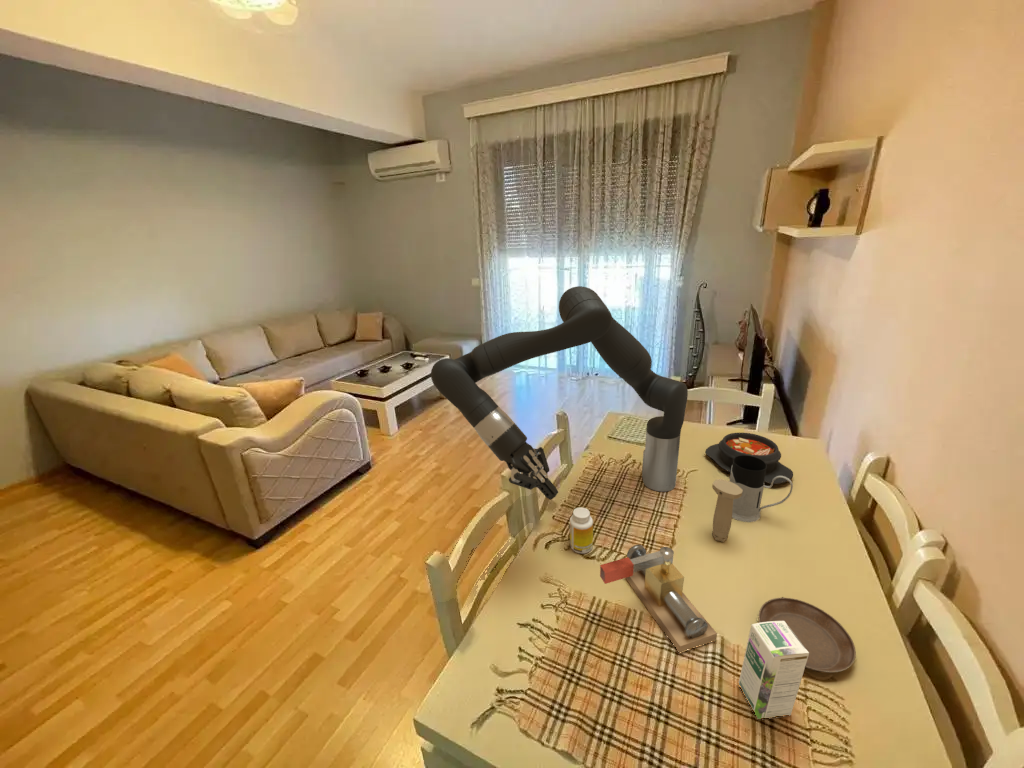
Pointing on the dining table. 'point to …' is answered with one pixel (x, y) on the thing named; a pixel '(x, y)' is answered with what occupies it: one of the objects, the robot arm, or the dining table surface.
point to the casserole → (750, 454)
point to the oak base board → (670, 616)
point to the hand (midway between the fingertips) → (554, 496)
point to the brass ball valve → (670, 593)
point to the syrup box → (772, 668)
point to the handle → (724, 507)
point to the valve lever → (634, 565)
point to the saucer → (813, 633)
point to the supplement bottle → (581, 530)
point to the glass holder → (750, 487)
